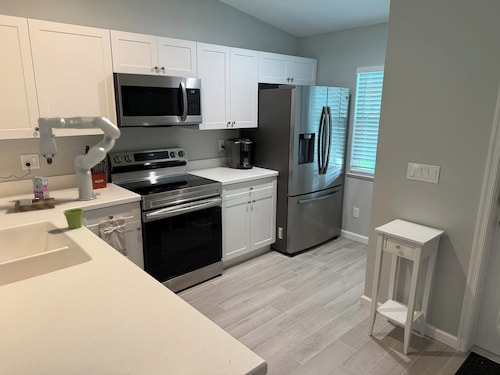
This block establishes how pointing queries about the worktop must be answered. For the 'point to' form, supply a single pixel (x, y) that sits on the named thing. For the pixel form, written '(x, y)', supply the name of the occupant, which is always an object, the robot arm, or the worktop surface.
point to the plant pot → (74, 218)
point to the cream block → (25, 201)
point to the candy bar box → (40, 187)
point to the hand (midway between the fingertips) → (49, 164)
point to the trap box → (35, 205)
